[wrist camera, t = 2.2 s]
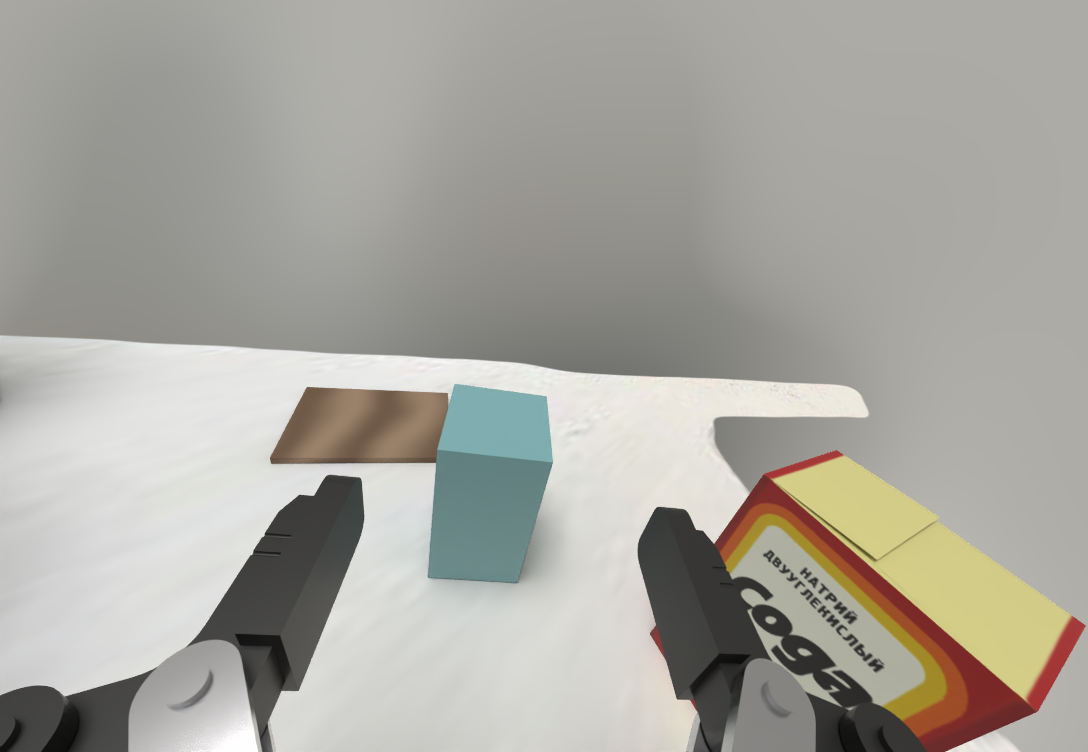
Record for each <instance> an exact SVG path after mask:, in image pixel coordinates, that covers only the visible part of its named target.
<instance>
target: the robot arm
mask: <svg viewBox="0 0 1088 752" xmlns="http://www.w3.org/2000/svg"><path fill="white" fill-rule="evenodd" d="M363 523H364V506H363V492H362V481H361V478H359V477H348V476H337V475H328V476H326V477H325V479H324V480H323V481H322V483H321V485H320V487H319V488H318V490H317V492H316V494H315V495H314V496H307V495H299V496H297V497H296V498H295V499H294V500H293V501H291V502H290V503H289V504H288V505H286V506H285V507H284V508H283V509H282V510H280V511H279V512H278V514H277V515H276V517H275V518H274V520H273V521H272V523H271V524H270V526H269V528H268V529H267V531H266V532H265V536H264V537H262V538H261V540H260V541H259V543H258V545H257V546H256V548H255V549H254V552H253V555H250V557H249V558H248V560H247V562H246V563H245V565H244V566H243V568H242V569H241V571H240V572H239V574H238V575H237V577H236V578H235V580H234V582H233V583H232V585H231V586H230V588H229V589H228V591H227V592H226V594H225V595H224V597H223V599H222V600H221V602H220V603H219V605H218V606H217V608H216V609H215V611H214V612H213V614H212V616H211V617H210V619H209V620H208V622H207V623H206V625H205V626H204V628H203V629H202V630H201V632H200V633H199V634H198V635H197V636H196V638H195V639H194V640H193V641H192V642H191V643H190V644H189V645H188V646H187V647H186V648H184V649H182V650H180V651H179V652H177V653H175V654H174V655H172V656H171V657H169V658H168V659H167V660H165V661H164V662H163V663H162V664H161V665H159V666H158V667H156V668H155V669H153V670H150V671H148V672H146V673H144V674H141V675H138V676H135V677H132V678H129V679H125V680H122V681H118V682H115V683H111V684H108V685H104V686H101V687H97V688H94V689H90V690H87V691H83V692H80V693H76V694H72V695H69V696H65V697H64V696H63V695H62V694H61V693H60V692H59V691H57V690H56V689H54V688H52V687H48V686H29V687H24V688H20V689H16V690H13V691H11V692H8V693H5V694H3V695H0V752H276V750H275V745H274V740H273V735H272V730H271V725H270V720H269V718H270V716H271V714H272V711H273V709H274V707H275V705H276V702H277V700H278V698H279V695H280V693H281V691H299V689H300V686H301V684H302V681H303V679H304V676H305V674H306V671H307V669H308V666H309V664H310V661H311V659H312V656H313V654H314V651H315V649H316V646H317V644H318V641H319V639H320V636H321V634H322V631H323V629H324V626H325V624H326V621H327V619H328V617H329V614H330V612H331V609H332V607H333V604H334V602H335V599H336V597H337V594H338V592H339V589H340V587H341V584H342V582H343V579H344V577H345V574H346V572H347V569H348V567H349V564H350V562H351V559H352V557H353V554H354V552H355V549H356V547H357V544H358V542H359V539H360V536H361V533H362V529H363ZM638 560H639V564H640V568H641V571H642V575H643V578H644V582H645V586H646V589H647V593H648V597H649V600H650V604H651V607H652V611H653V615H654V618H655V622H656V625H657V629H658V633H659V636H660V640H661V643H662V647H663V651H664V654H665V658H666V662H667V665H668V669H669V672H670V676H671V680H672V683H673V687H674V690H675V694H676V698H677V699H679V700H694V702H695V705H696V708H697V712H698V713H697V714H696V716H695V718H694V721H693V725H692V729H691V733H690V737H689V742H688V746H687V750H686V752H927V751H926V749H925V748H924V746H923V745H922V743H921V742H920V740H919V739H918V738H917V737H916V735H915V734H914V733H913V732H912V731H911V729H910V728H909V727H908V726H907V725H906V724H905V723H904V722H903V721H902V720H901V719H899V718H898V717H897V716H896V715H894V714H893V713H892V712H890V711H889V710H887V709H886V708H884V707H882V706H880V705H877V704H875V703H870V702H864V703H861V704H859V705H858V706H856V707H854V708H853V709H851V710H848V709H846V708H843V707H841V706H838V705H836V704H834V703H831V702H829V701H827V700H824V699H822V698H819V697H817V696H815V695H812V694H810V693H808V692H806V691H804V689H803V688H802V686H801V685H800V684H799V682H798V681H797V680H796V679H795V678H794V677H793V676H792V675H791V674H790V673H789V672H788V671H787V670H786V669H784V668H783V667H782V666H780V665H779V664H777V663H775V662H773V661H772V659H771V658H770V656H769V654H768V653H767V651H766V649H765V647H764V645H763V643H762V640H761V638H760V636H759V634H758V632H757V630H756V628H755V626H754V624H753V622H752V620H751V617H750V615H749V613H748V611H747V609H746V607H745V605H744V603H743V601H742V599H741V596H740V594H739V592H738V590H737V588H735V587H734V582H733V580H732V578H731V576H730V573H729V571H727V570H726V568H727V567H726V565H725V563H724V561H723V559H722V557H721V555H720V552H719V550H718V548H717V547H716V546H715V545H714V543H713V542H712V541H711V540H710V539H709V538H708V536H707V535H706V534H705V533H704V532H703V531H700V530H696V529H695V527H694V525H693V522H692V520H691V518H690V516H689V514H688V512H687V511H686V510H684V509H677V508H666V507H657V508H656V509H655V510H654V512H653V514H652V516H651V518H650V520H649V522H648V524H647V525H646V527H645V529H644V531H643V533H642V535H641V537H640V539H639V543H638Z"/></svg>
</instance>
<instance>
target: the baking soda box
mask: <svg viewBox="0 0 1088 752" xmlns="http://www.w3.org/2000/svg"><path fill="white" fill-rule="evenodd" d="M938 518H939V517H938V516H937V515H935V514H934V513H932V512H931V511H929V510H928V509H926V508H924V507H923V506H921V505H920V504H918V503H917V502H915V501H914V500H912V499H911V498H909V497H907V496H906V495H904V494H903V493H901V492H900V491H898V490H897V489H895V488H894V487H892V486H891V485H889V484H887V483H886V482H884V481H883V480H882V479H880V478H878V477H877V476H875V475H874V474H872V473H871V472H869V471H868V470H866V469H865V468H863V467H862V466H860V465H858V464H857V463H855V462H854V461H852V460H851V459H849V458H848V457H846V456H845V455H843V454H842V453H840V452H838V451H837V450H836V451H833V452H830V453H827V454H824V455H821V456H818V457H814V458H811V459H808V460H805V461H802V462H799V463H796V464H793V465H790V466H787V467H784V468H781V469H778V470H775V471H772V472H769V473H766V474H764V475H763V476H762V478H761V479H760V481H759V482H758V483H757V485H756V486H755V488H754V489H753V490H752V492H751V493H750V495H749V496H748V497H747V499H746V500H745V502H744V503H743V504H742V506H741V507H740V509H739V510H738V511H737V513H736V514H735V516H734V517H733V518H732V520H731V521H730V523H729V524H728V525H727V527H726V528H725V530H724V531H723V532H722V534H721V535H720V537H719V538H718V539H717V541H716V542H715V544H714V545H715V546H716V547H717V548H718V550H719V552H720V555H721V557H722V559H723V561H724V563H725V565H726V567H727V568H726V570H727V571H729V573H730V576H731V578H732V580H733V582H734V587H735V588H737V590H738V592H739V594H740V596H741V599H742V601H743V603H744V605H745V607H746V609H747V611H748V613H749V615H750V617H751V620H752V622H753V624H754V626H755V628H756V630H757V632H758V634H759V636H760V638H761V640H762V643H763V645H764V647H765V649H766V651H767V653H768V654H769V656H770V658H771V659H772V661H773V662H775V663H777V664H779V665H780V666H782V667H783V668H784V669H786V670H787V671H788V672H789V673H790V674H791V675H792V676H793V677H794V678H795V679H796V680H797V681H798V682H799V684H800V685H801V686H802V688H803V689H804V691H806V692H808V693H810V694H812V695H815V696H817V697H819V698H822V699H824V700H827V701H829V702H831V703H834V704H836V705H838V706H841V707H843V708H846V709H848V710H851V709H853V708H854V707H856V706H858V705H859V704H861V703H864V702H870V703H875V704H877V705H880V706H882V707H884V708H886V709H887V710H889V711H890V712H892V713H893V714H894V715H896V716H897V717H898V718H899V719H901V720H902V721H903V722H904V723H905V724H906V725H907V726H908V727H909V728H910V729H911V731H912V732H913V733H914V734H915V735H916V737H917V738H918V739H919V740H920V742H921V743H922V745H923V746H924V748H925V749H926V751H927V752H945V751H948V750H950V749H952V748H955V747H957V746H959V745H962V744H964V743H966V742H969V741H971V740H973V739H976V738H978V737H980V736H982V735H985V734H987V733H989V732H992V731H994V730H996V729H999V728H1001V727H1003V726H1006V725H1008V724H1010V723H1013V722H1015V721H1017V720H1020V719H1022V718H1024V717H1026V716H1029V715H1031V714H1033V713H1036V712H1037V711H1038V710H1039V708H1040V706H1041V705H1042V703H1043V701H1044V699H1045V698H1046V696H1047V694H1048V692H1049V690H1050V689H1051V687H1052V685H1053V683H1054V682H1055V680H1056V678H1057V676H1058V674H1059V672H1060V671H1061V669H1062V667H1063V666H1064V664H1065V662H1066V660H1067V658H1068V657H1069V655H1070V653H1071V651H1072V650H1073V648H1074V646H1075V644H1076V642H1077V641H1078V639H1079V637H1080V635H1081V633H1082V632H1083V630H1084V628H1085V625H1084V624H1083V623H1081V622H1080V621H1078V620H1077V619H1076V618H1074V617H1073V616H1071V615H1070V614H1069V613H1067V612H1065V611H1064V610H1063V609H1061V608H1060V607H1059V606H1057V605H1056V604H1054V603H1053V602H1051V601H1050V600H1049V599H1047V598H1046V597H1044V596H1043V595H1042V594H1040V593H1039V592H1037V591H1036V590H1034V589H1033V588H1032V587H1030V586H1029V585H1027V584H1026V583H1024V582H1023V581H1022V580H1020V579H1018V578H1017V577H1016V576H1015V575H1013V574H1012V573H1010V572H1009V571H1007V570H1006V569H1004V568H1003V567H1002V566H1000V565H999V564H997V563H996V562H995V561H993V560H991V559H990V558H989V557H987V556H986V555H985V554H983V553H982V552H980V551H979V550H977V549H976V548H975V547H973V546H972V545H970V544H969V543H968V542H966V541H965V540H963V539H962V538H960V537H959V536H958V535H956V534H955V533H953V532H952V531H951V530H949V529H948V528H946V527H945V526H943V525H942V524H941V523H939V522H938V521H936V520H937V519H938ZM650 635H651V636H652V638H653V640H654V641H655V643H656V645H657V646H658V648H659V649H660V651H661V653H662V654H663V656H664V658H665V654H664V651H663V647H662V643H661V640H660V636H659V633H658V629H657V625H656V626H655V628H654V629H653V630H652V632H651V633H650ZM665 659H666V658H665ZM691 702H692V704H693V705H694V707H695V709H696V710H697V708H696V705H695V702H694V700H691Z"/></svg>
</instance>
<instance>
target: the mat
mask: <svg viewBox="0 0 1088 752" xmlns="http://www.w3.org/2000/svg"><path fill="white" fill-rule="evenodd" d="M447 411H448V393H432V392H409V391H385V390H362V389H338V388H315V387H307V388H306V390H305V392H304V394H303V396H302V398H301V400H300V401H299V403H298V405H297V407H296V409H295V411H294V413H293V415H292V417H291V419H290V421H289V423H288V425H287V426H286V428H285V430H284V432H283V434H282V436H281V438H280V440H279V442H278V444H277V446H276V448H275V449H274V451H273V453H272V455H271V457H270V460H271V463H403V462H436V460H437V449H438V445H439V441H440V437H441V434H442V430H443V426H444V422H445V419H446V415H447Z"/></svg>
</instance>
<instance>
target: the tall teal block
mask: <svg viewBox="0 0 1088 752" xmlns="http://www.w3.org/2000/svg"><path fill="white" fill-rule="evenodd" d="M552 464H553V459H552V448H551V438H550V427H549V417H548V406H547V396H540V395H532V394H525V393H518V392H510V391H503V390H496V389H488V388H481V387H474V386H467V385H459V384H455V385H454V389H453V392H452V396H451V400H450V404H449V407H448V411H447V415H446V419H445V422H444V426H443V430H442V434H441V437H440V441H439V445H438V449H437V460H436V474H435V487H434V501H433V514H432V528H431V541H430V555H429V568H428V578H444V579H460V580H476V581H492V582H509V583H517V582H518V578H519V575H520V572H521V568H522V565H523V562H524V558H525V555H526V551H527V548H528V545H529V541H530V538H531V535H532V531H533V528H534V524H535V521H536V518H537V514H538V511H539V508H540V504H541V501H542V497H543V494H544V491H545V487H546V484H547V480H548V477H549V474H550V470H551V467H552Z"/></svg>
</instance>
